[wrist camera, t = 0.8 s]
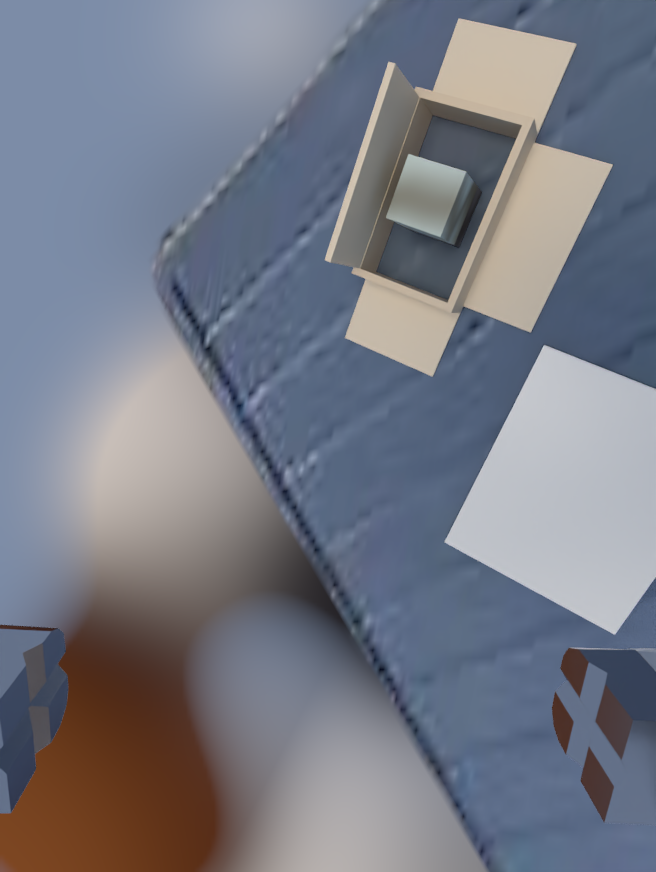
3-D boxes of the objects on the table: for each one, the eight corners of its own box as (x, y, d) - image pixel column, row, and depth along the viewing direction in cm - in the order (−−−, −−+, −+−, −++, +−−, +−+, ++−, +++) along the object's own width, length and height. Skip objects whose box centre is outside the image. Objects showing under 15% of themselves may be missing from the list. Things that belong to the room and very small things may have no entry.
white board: (544, 344, 43) (544, 345, 42) (757, 428, 38) (759, 430, 38) (445, 539, 50) (444, 542, 50) (614, 630, 45) (614, 634, 45)
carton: (459, 20, 41) (427, -62, 32) (662, 64, 36) (691, -17, 27) (346, 337, 50) (297, 343, 41) (495, 404, 45) (476, 426, 37)
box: (431, 176, 44) (408, 153, 38) (481, 192, 42) (466, 171, 36) (411, 230, 45) (385, 217, 39) (459, 247, 44) (440, 237, 38)
